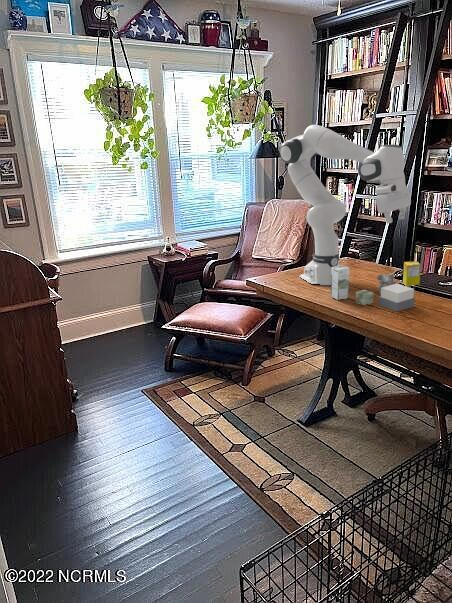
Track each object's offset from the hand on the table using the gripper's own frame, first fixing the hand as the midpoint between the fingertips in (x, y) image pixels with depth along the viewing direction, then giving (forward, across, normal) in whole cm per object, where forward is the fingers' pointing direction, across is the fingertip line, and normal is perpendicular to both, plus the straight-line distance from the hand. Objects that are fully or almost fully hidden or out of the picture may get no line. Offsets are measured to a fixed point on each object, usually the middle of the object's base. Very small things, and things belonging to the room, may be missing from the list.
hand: (395, 221), depth 183 cm
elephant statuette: (+33, -9, -12) cm, 36 cm away
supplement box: (+34, -22, -7) cm, 41 cm away
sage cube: (+33, +10, -11) cm, 36 cm away
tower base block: (+35, +5, 0) cm, 35 cm away
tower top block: (+31, +5, +1) cm, 31 cm away
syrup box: (+32, +11, -23) cm, 40 cm away
